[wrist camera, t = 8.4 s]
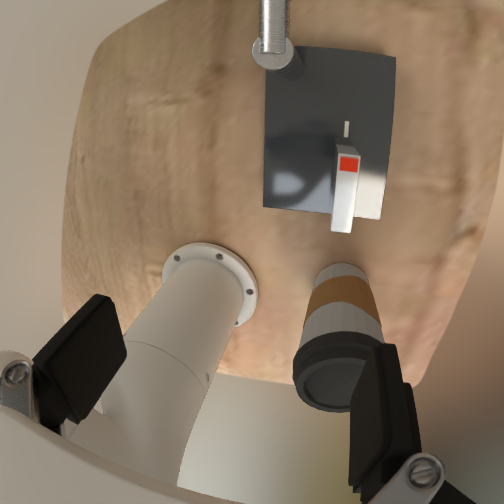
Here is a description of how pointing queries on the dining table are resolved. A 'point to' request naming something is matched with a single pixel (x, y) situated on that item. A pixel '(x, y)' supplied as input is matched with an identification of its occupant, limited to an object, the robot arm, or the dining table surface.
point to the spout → (276, 41)
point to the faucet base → (328, 129)
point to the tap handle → (344, 188)
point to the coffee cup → (336, 338)
